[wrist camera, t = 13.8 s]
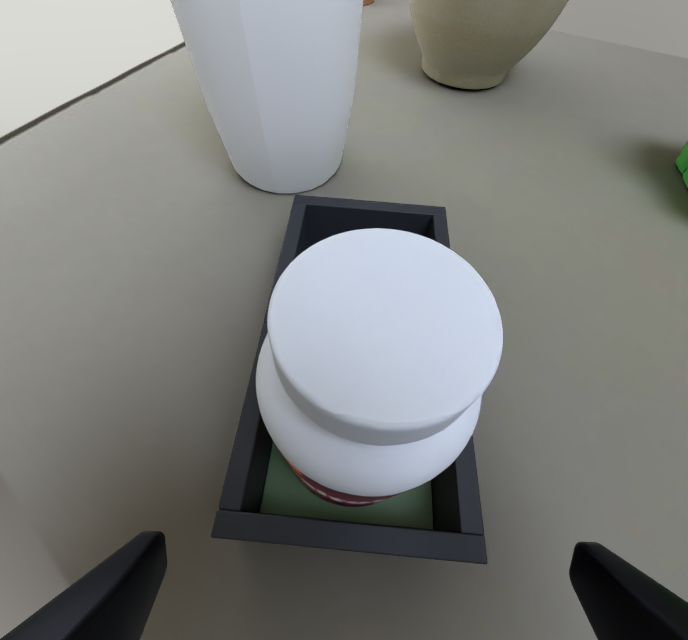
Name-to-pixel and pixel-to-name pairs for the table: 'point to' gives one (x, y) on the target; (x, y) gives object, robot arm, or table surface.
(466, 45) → the planter bowl
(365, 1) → the potted plant
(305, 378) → the pill bottle
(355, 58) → the bottle
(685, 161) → the fruit basket
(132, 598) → the robot arm
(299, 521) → the tray
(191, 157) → the table surface
